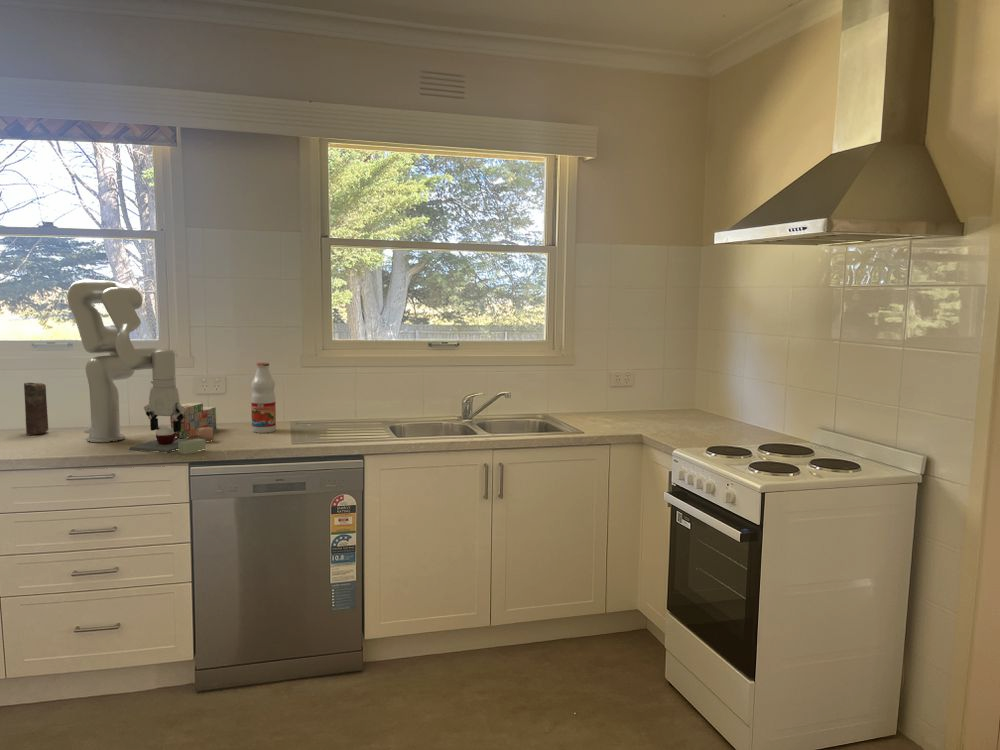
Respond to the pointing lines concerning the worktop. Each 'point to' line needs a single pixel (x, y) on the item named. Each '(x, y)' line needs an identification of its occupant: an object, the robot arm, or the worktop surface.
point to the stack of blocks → (195, 419)
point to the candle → (35, 408)
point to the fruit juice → (263, 400)
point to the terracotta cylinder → (205, 433)
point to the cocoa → (164, 434)
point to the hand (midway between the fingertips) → (165, 430)
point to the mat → (157, 446)
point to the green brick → (191, 445)
